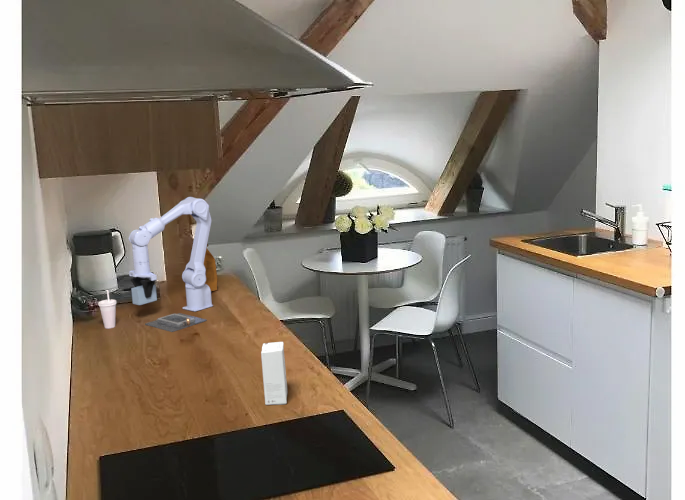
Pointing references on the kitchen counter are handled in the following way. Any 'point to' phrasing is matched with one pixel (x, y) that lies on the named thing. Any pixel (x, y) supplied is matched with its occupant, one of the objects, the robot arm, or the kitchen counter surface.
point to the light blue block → (142, 295)
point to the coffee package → (210, 270)
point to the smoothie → (108, 311)
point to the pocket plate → (175, 322)
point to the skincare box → (274, 373)
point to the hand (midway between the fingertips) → (144, 296)
